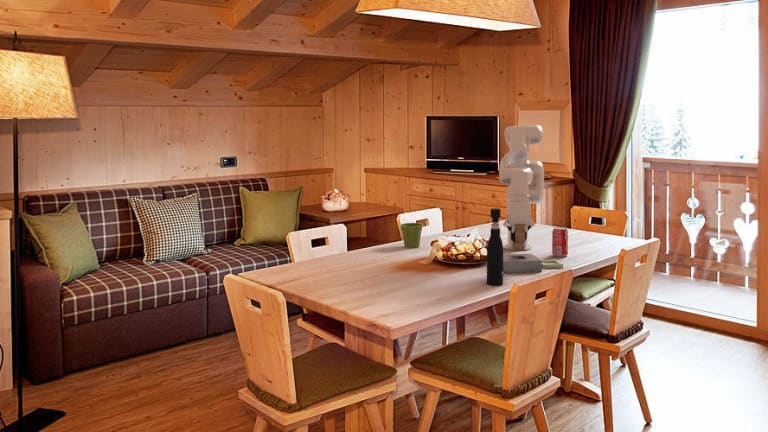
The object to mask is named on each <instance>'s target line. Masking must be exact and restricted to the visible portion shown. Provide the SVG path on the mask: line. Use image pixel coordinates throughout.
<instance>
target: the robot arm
mask: <svg viewBox="0 0 768 432" xmlns="http://www.w3.org/2000/svg"><path fill="white" fill-rule="evenodd" d="M504 138H505V142H506V144H507V147H508V149H509V151H508V152H506V154H504V156H502V158H501V160H500V163H499V171H498V172H499V175H498V177H499V182H500V184H502V185H506V186H507V185H508V186H507V188H506V201H507V205H506V206H507V207H506V213H505V214H506V215H505V220H504V221H503V223H502V226H504V227H505V228H506V229H507V244H504V245H503V249H506V250H510V251H515V250H514V249H513V242H515V231H514V230H515V225H516V224H524V223H525V250H524V251H528V250H530V249H531V247H532V246H531V245H530V244H528V237H529V236H528V235H529V230H530V229H532V227H534V226H535V225H536V222H535V221H534V220H533V218H532V207H531V204H535V205H536V204H541V203H542V202H543V201H544V195H545V194H544V193H545V192H544V191H545V190H544V188H545V187H544V186H545V185H544V184H545V171H544V170H545V169H544V164H543V163H542V162H541V161H539V160H537V161H536V160H529V155H530V145H540V144H542V143H543V140H544V130H543V128H542V126H541V125H534V124H533V125H530V124H529V125H525V124H524V125H521V124H520V125H511V126H508V127H506V128H505V129H504ZM532 182H534V183H532Z"/></svg>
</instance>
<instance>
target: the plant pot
mask: <svg viewBox="0 0 768 432" xmlns="http://www.w3.org/2000/svg"><path fill="white" fill-rule="evenodd" d="M399 226H400V231H401V233H402V239H403V244H404V245H403V246H404V248H406V249H408V248H410V249H417V248H419V247H420V244H421V238H422V237H421V236H422V230H423V226H424V224H423V223H420V222H406V223H405V222H404V223H400V224H399Z"/></svg>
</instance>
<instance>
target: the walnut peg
mask: <svg viewBox="0 0 768 432" xmlns="http://www.w3.org/2000/svg"><path fill="white" fill-rule="evenodd" d="M514 231H515V242H513V249H514V250H513V251H526V250H525V223H524V224H516V225H515V230H514Z"/></svg>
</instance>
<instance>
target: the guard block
mask: <svg viewBox="0 0 768 432" xmlns="http://www.w3.org/2000/svg"><path fill="white" fill-rule="evenodd" d="M542 260H543V259H540V258H539V257H537V256H536V255H535V254H533V253H513V254H503V272H504V273H503V274H522V273H523V274H528V273H542V271H543V268H542Z"/></svg>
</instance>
